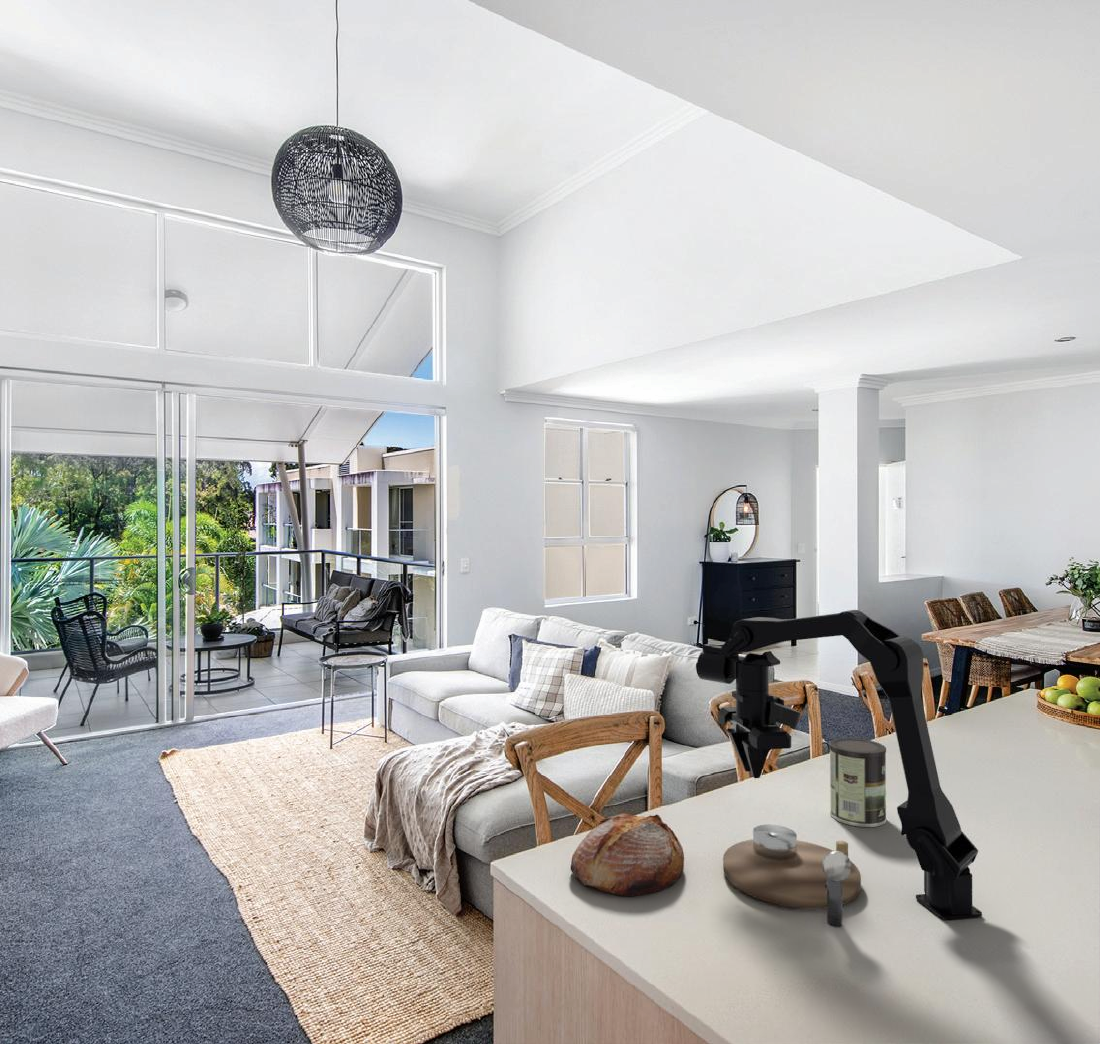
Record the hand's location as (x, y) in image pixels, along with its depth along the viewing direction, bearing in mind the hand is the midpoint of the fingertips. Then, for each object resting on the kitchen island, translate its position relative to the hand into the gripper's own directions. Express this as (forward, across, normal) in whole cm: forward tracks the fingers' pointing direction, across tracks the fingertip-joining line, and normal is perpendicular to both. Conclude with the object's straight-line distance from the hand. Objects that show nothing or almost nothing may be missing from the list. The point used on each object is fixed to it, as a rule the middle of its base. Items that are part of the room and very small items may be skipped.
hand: (752, 774), depth 134 cm
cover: (+10, -9, 0) cm, 13 cm away
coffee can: (+12, +8, -25) cm, 29 cm away
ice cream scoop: (+12, -28, 0) cm, 30 cm away
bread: (+12, -8, +25) cm, 29 cm away
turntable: (+12, -14, 0) cm, 19 cm away
